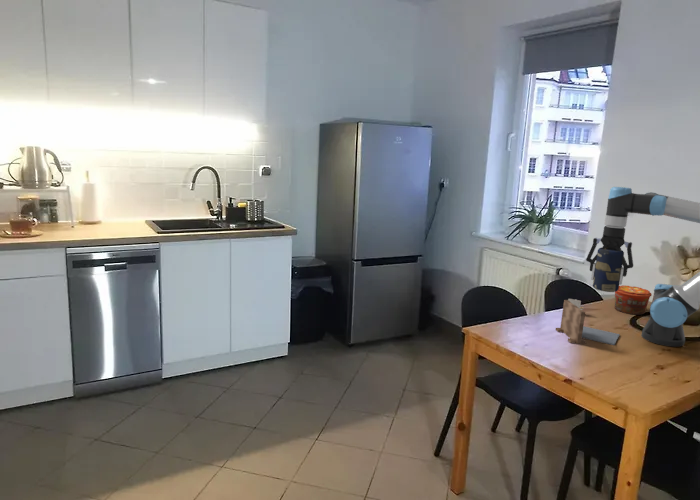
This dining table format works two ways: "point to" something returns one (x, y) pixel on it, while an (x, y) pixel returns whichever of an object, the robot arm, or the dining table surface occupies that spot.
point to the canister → (608, 270)
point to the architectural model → (576, 303)
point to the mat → (599, 335)
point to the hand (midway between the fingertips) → (606, 281)
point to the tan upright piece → (572, 322)
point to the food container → (631, 300)
